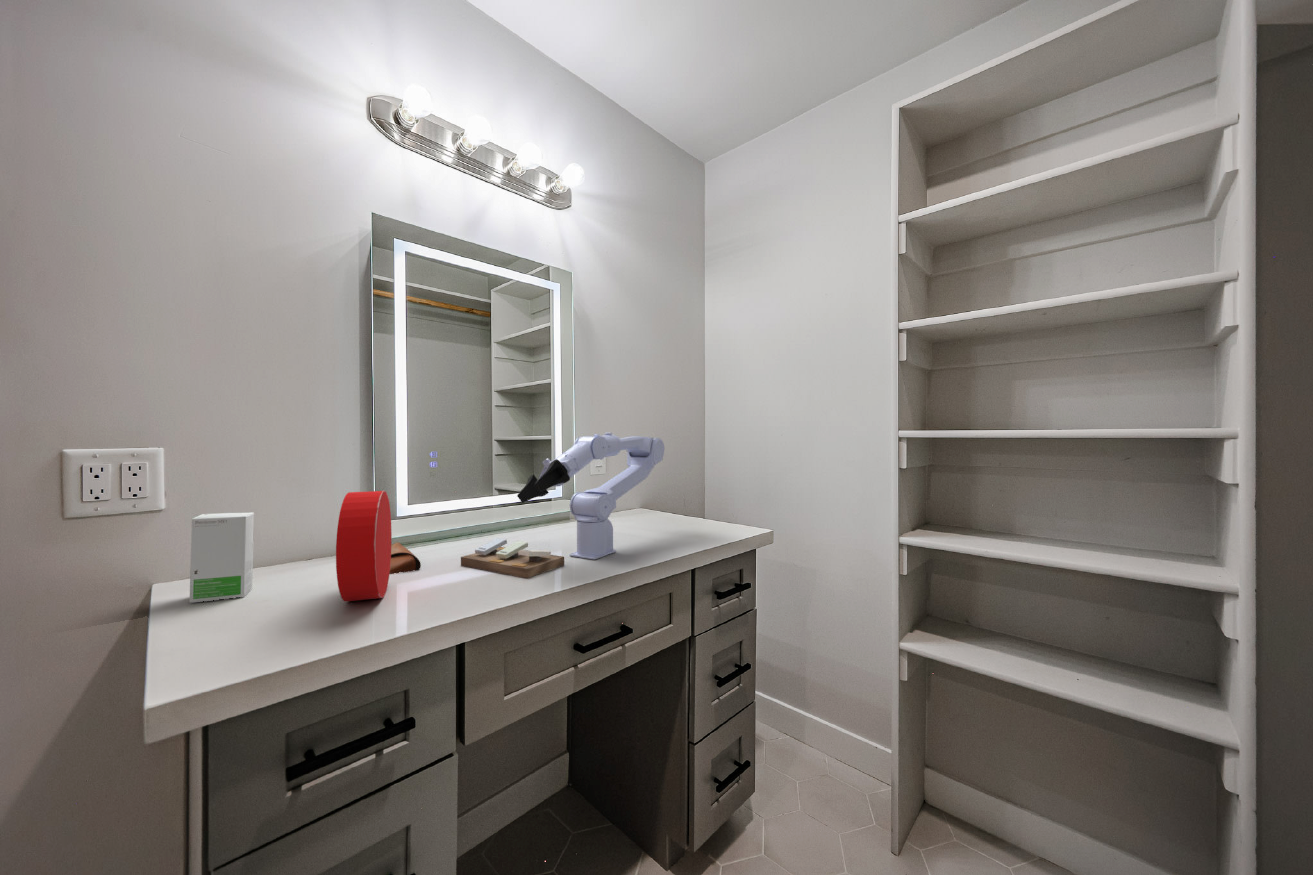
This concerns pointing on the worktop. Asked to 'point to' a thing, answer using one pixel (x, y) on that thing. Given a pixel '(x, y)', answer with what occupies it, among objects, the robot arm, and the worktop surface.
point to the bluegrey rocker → (490, 546)
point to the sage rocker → (511, 549)
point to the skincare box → (221, 556)
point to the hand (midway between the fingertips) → (528, 493)
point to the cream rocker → (534, 553)
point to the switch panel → (513, 563)
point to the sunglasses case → (402, 559)
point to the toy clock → (363, 545)
